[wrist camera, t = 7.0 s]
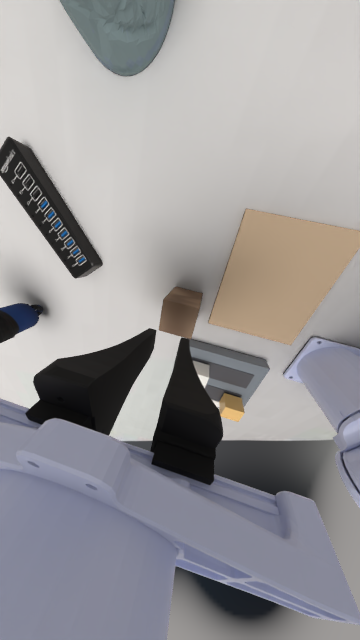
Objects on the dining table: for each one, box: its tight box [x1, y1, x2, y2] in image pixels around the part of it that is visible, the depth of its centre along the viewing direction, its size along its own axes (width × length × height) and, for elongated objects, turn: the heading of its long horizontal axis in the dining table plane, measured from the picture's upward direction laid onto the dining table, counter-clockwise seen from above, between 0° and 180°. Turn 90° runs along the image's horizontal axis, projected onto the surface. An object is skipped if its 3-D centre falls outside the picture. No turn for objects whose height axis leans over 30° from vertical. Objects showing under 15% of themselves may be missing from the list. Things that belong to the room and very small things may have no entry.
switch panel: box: [187, 338, 270, 408], centre depth 26 cm, size 13×12×2 cm
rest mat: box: [208, 209, 360, 345], centre depth 18 cm, size 12×14×1 cm
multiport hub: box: [0, 137, 103, 278], centre depth 19 cm, size 4×14×2 cm, turn 27°
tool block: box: [159, 287, 203, 339], centre depth 19 cm, size 4×4×6 cm
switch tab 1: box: [193, 361, 209, 388], centre depth 22 cm, size 3×3×2 cm
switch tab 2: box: [219, 393, 244, 422], centre depth 24 cm, size 3×3×2 cm
